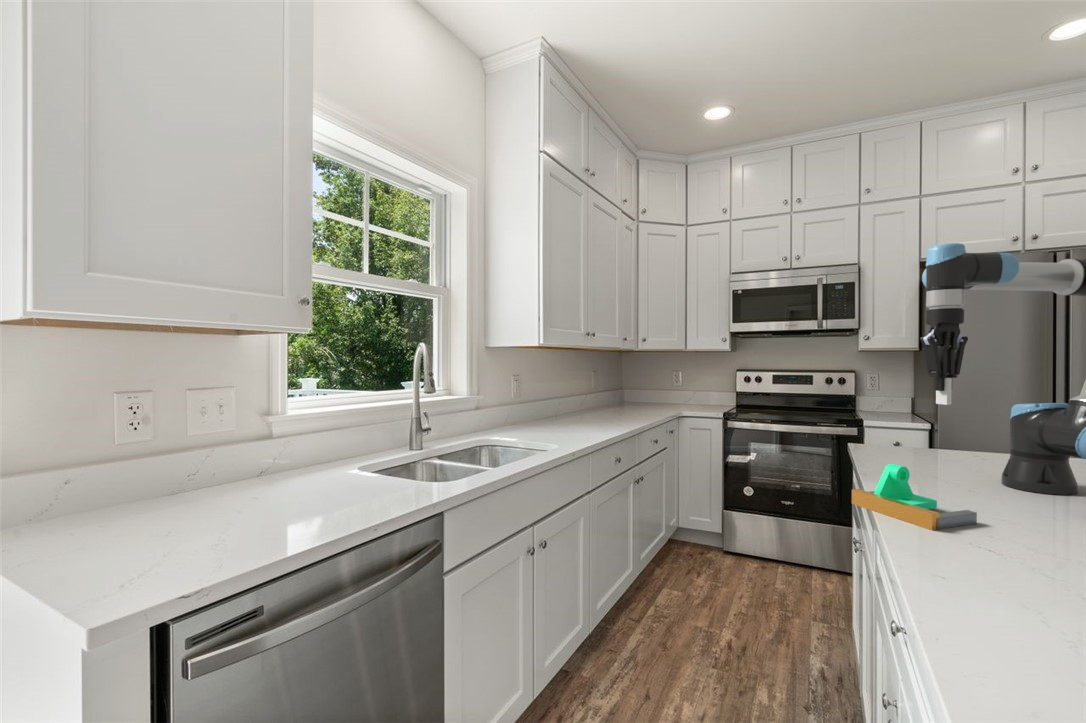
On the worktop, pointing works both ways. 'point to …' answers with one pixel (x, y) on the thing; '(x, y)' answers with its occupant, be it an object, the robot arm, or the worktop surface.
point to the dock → (912, 511)
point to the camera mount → (901, 487)
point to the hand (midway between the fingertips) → (943, 404)
